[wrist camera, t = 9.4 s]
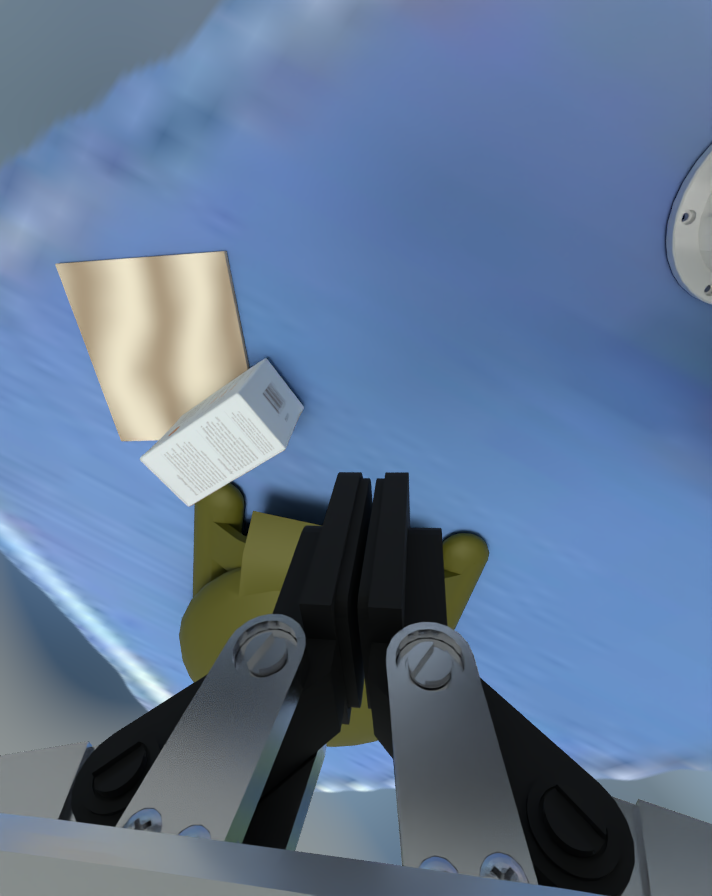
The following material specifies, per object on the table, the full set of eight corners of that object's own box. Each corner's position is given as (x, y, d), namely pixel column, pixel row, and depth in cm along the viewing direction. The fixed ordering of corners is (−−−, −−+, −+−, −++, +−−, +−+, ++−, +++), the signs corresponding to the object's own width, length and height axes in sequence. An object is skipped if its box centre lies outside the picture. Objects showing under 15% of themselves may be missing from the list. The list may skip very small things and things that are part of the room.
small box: (306, 406, 39) (222, 458, 43) (266, 355, 37) (181, 414, 41) (286, 452, 32) (188, 510, 36) (235, 392, 30) (136, 460, 34)
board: (226, 250, 34) (224, 251, 34) (262, 434, 42) (261, 437, 41) (59, 263, 36) (55, 264, 35) (124, 438, 43) (121, 441, 43)
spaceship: (200, 468, 45) (153, 531, 36) (494, 531, 45) (515, 608, 37) (194, 673, 62) (162, 748, 53) (407, 717, 63) (409, 798, 54)
